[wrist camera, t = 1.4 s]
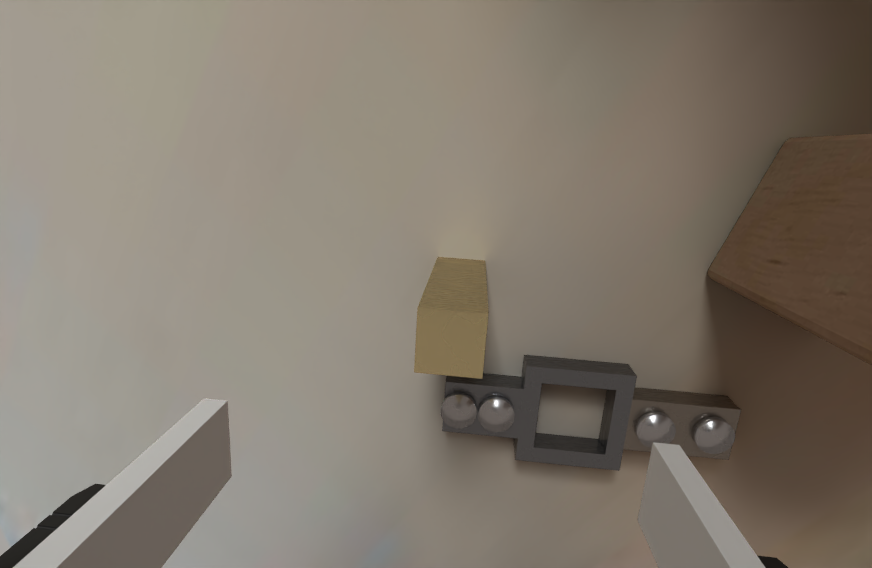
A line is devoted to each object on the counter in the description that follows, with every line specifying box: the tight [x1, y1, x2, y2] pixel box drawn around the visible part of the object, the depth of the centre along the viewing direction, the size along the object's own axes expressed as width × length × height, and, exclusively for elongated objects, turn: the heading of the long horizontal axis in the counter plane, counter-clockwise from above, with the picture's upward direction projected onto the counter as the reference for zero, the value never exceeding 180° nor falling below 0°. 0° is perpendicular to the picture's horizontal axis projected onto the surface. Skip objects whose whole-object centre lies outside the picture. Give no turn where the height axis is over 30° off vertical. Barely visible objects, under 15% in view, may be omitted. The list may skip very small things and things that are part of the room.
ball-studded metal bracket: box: [441, 355, 741, 470], centre depth 36 cm, size 8×21×3 cm, turn 87°
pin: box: [414, 257, 488, 379], centre depth 30 cm, size 3×3×12 cm
